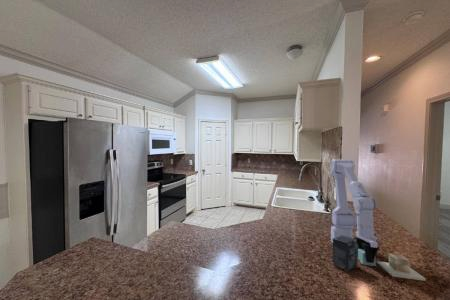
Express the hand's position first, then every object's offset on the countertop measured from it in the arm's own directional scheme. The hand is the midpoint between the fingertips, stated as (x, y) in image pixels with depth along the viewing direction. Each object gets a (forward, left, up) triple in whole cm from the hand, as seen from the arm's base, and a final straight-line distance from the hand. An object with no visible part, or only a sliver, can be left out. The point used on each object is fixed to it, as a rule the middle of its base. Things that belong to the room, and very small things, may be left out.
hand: (366, 259), depth 80 cm
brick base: (+9, -5, -1) cm, 10 cm away
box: (-10, -6, -2) cm, 12 cm away
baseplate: (+9, -5, -1) cm, 10 cm away
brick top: (0, 0, -2) cm, 2 cm away
